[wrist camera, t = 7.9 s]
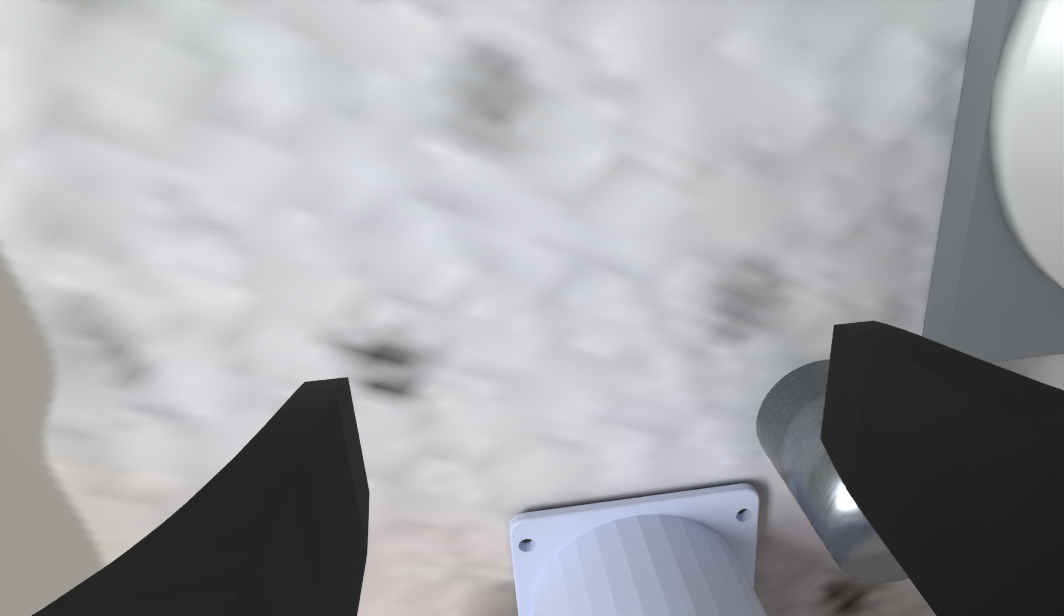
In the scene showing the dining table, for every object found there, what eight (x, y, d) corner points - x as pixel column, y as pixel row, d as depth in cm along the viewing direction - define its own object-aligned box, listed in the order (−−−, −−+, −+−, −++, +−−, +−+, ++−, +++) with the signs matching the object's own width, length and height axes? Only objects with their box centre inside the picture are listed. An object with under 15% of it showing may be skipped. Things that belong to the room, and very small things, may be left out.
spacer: (872, 459, 26) (966, 571, 21) (753, 475, 25) (822, 591, 21) (887, 351, 24) (992, 448, 19) (759, 368, 24) (836, 469, 19)
